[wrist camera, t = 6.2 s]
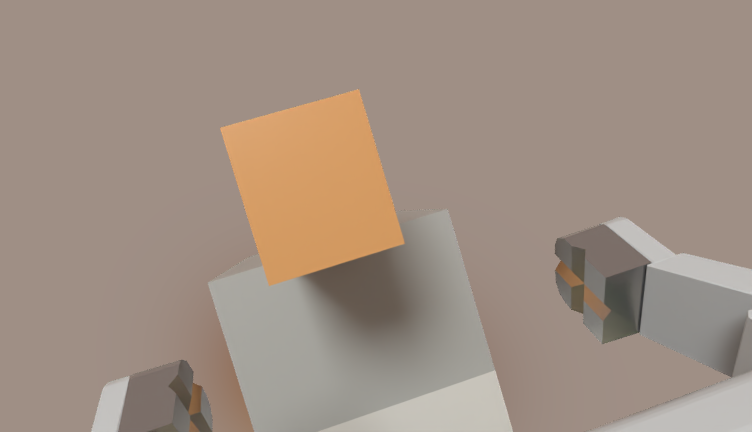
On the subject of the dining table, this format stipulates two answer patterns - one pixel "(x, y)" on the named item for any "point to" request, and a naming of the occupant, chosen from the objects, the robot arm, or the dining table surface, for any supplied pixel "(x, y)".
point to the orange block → (312, 186)
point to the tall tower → (365, 341)
